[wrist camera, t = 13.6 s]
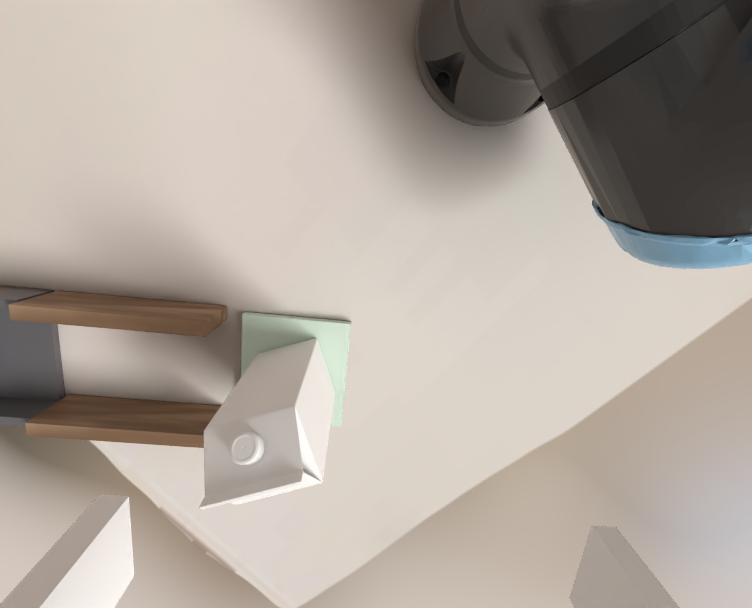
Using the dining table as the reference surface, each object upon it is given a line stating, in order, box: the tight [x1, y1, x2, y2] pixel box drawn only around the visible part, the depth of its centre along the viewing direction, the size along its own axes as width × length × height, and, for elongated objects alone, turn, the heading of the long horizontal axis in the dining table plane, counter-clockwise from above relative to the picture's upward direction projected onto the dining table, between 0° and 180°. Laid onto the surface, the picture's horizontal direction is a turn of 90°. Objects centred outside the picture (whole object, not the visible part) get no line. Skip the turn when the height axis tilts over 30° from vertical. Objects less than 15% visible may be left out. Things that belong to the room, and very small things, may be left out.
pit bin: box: [0, 285, 65, 427], centre depth 40 cm, size 14×8×4 cm, turn 174°
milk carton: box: [199, 338, 335, 510], centre depth 34 cm, size 7×7×19 cm
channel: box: [8, 291, 227, 448], centre depth 40 cm, size 14×18×6 cm
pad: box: [241, 312, 351, 427], centre depth 44 cm, size 13×12×1 cm
